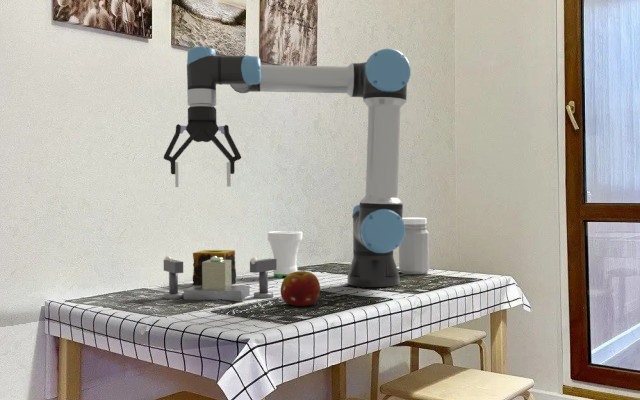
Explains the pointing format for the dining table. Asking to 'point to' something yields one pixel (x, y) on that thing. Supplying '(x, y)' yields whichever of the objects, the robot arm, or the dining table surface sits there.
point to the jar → (414, 247)
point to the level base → (216, 293)
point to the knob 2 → (262, 275)
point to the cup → (285, 250)
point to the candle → (207, 255)
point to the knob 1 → (173, 277)
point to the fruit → (300, 288)
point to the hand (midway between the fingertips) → (203, 186)
